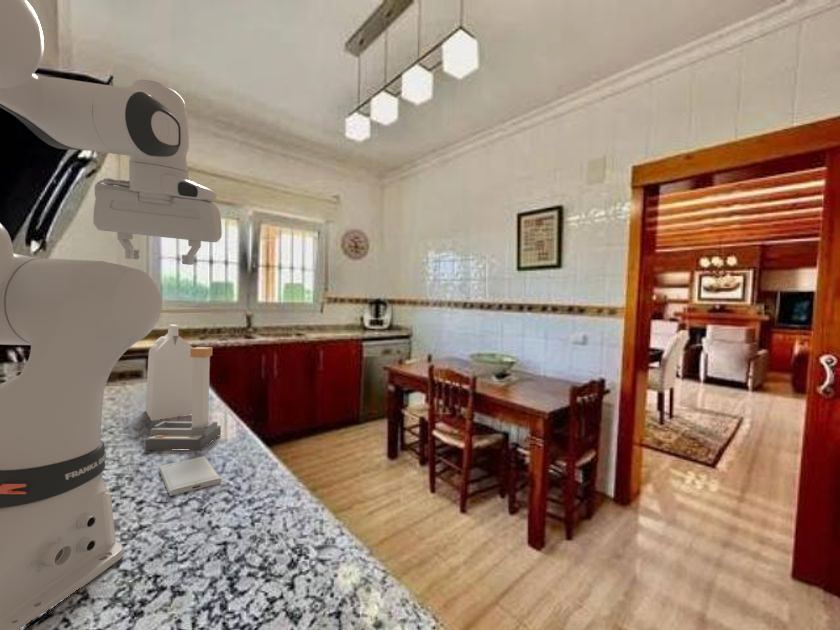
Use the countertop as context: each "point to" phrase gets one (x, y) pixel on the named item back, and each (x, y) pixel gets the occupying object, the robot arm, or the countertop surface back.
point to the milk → (169, 377)
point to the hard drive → (188, 475)
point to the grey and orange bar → (200, 386)
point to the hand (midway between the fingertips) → (160, 261)
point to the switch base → (181, 436)
